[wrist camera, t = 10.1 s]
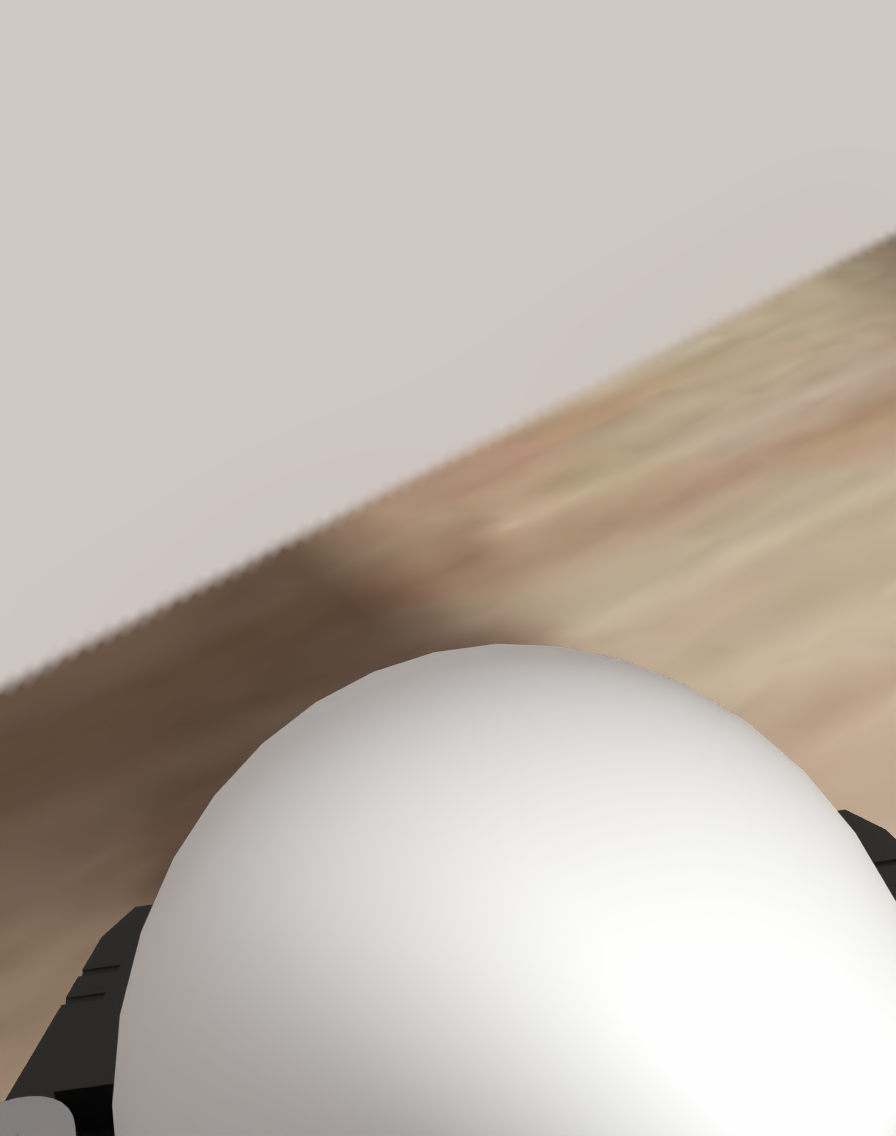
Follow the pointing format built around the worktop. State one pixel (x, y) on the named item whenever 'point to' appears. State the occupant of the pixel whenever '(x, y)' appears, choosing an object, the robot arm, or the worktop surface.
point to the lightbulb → (514, 923)
